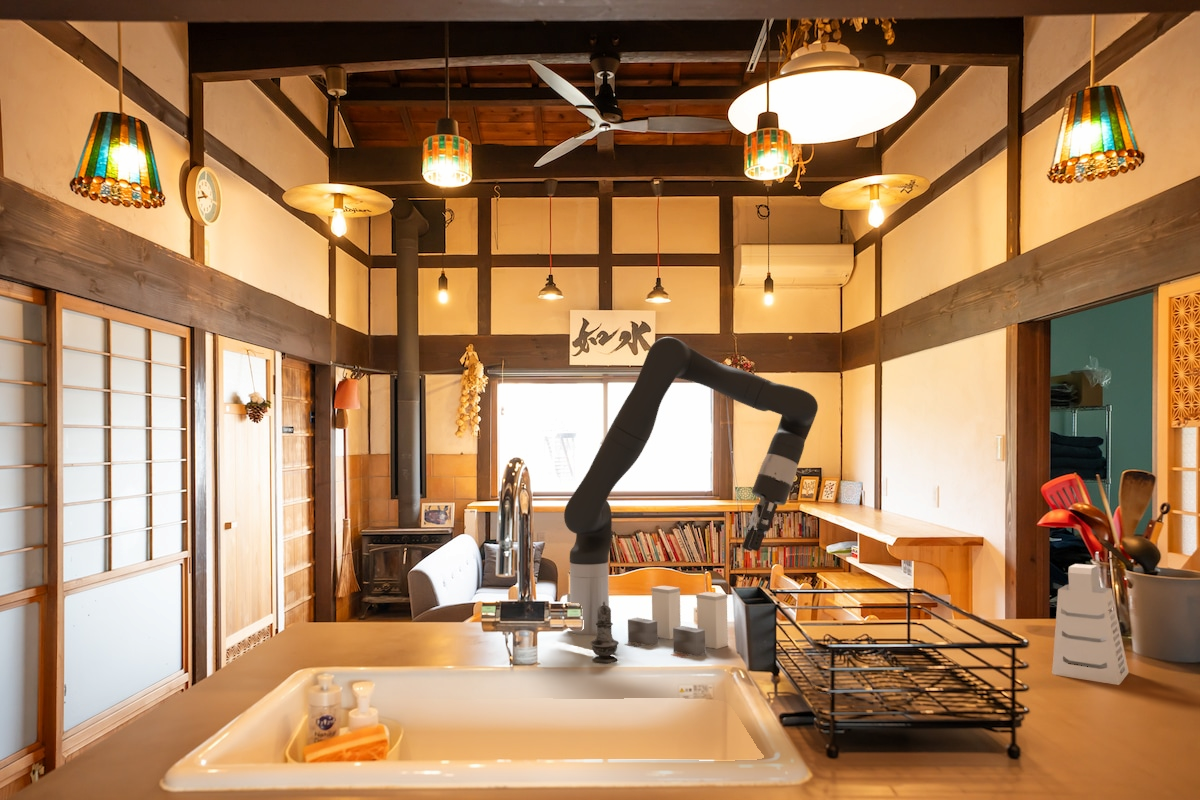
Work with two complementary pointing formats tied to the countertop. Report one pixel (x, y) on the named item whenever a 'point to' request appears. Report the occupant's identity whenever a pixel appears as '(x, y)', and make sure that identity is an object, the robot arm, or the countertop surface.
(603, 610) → the salt shaker
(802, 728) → the countertop surface
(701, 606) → the tall white box
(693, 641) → the dark grey rectangular blocks
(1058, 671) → the grater
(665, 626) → the tall cream pillar
